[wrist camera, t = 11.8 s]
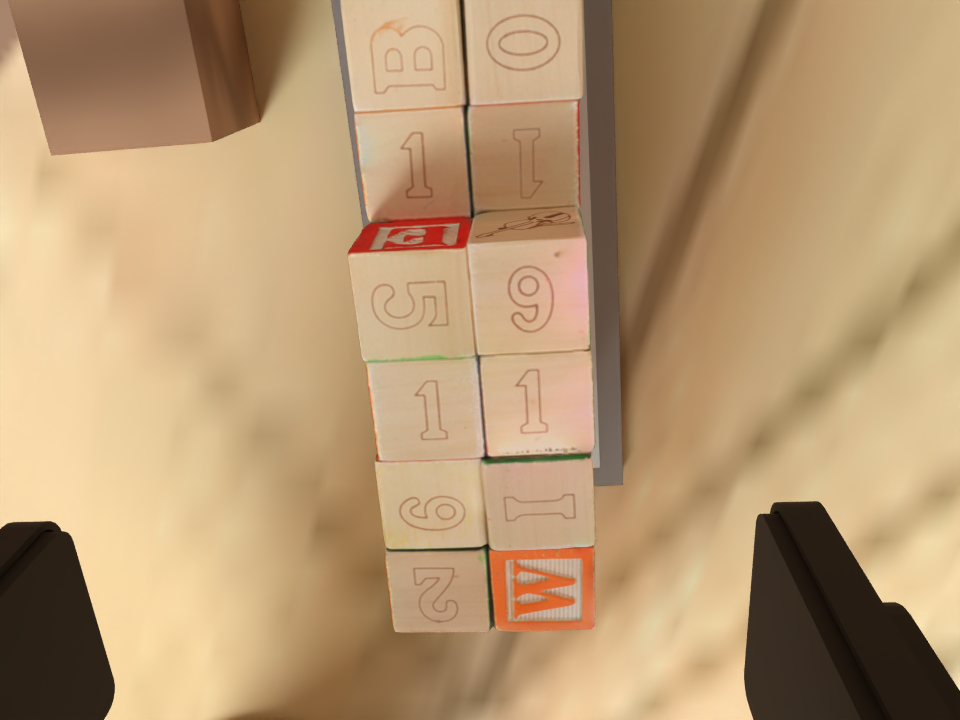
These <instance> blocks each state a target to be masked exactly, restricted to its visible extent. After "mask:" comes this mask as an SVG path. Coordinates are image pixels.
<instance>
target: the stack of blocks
mask: <svg viewBox="0 0 960 720" xmlns="http://www.w3.org/2000/svg"><path fill="white" fill-rule="evenodd" d="M340 4H341V14H342V21H343V30H344V38H345V46H346V54H347V62H348V70H349V78H350V86H351V94H352V102H353V108H354V122H355V132H356V141H357V150H358V157H359V164H360V171H361V178H362V185H363V193H364V201H365V207H366V212H367V217H368V219H369V221H370V224H368V225H366V226H365V227H364V229H363V230H362V232H361V234H360V235H359V237H358V238H357V239H356V241H355V242H354V244H353V245H352V247H351V248H350V250H349V252H348V262H349V269H350V276H351V283H352V290H353V297H354V304H355V311H356V319H357V326H358V333H359V341H360V348H361V355H362V358H363V360H364V361H365V363H366V368H367V379H368V388H369V396H370V403H371V411H372V417H373V425H374V433H375V441H376V448H377V456H376V459H375V471H376V479H377V488H378V495H379V502H380V510H381V518H382V527H383V535H384V543H385V546H386V553H385V563H386V571H387V580H388V589H389V598H390V607H391V616H392V624H393V628H394V631H396V632H398V633H412V632H477V633H485V632H489V630H490V629H491V628H492V627H493V626H494V627H495V629H496V630H500V631H510V632H514V631H550V630H581V629H592V628H595V627H596V605H595V552H594V544H595V542H596V530H595V506H594V482H593V462H592V453H591V451H592V450H593V449H594V448H595V444H596V440H595V418H594V382H593V361H592V354H591V346H590V341H591V329H590V303H589V272H588V241H587V237H586V233H585V228H584V224H583V220H582V215H581V212H580V205H581V200H580V116H579V102H580V99H581V98H582V96H583V8H582V0H340Z"/></svg>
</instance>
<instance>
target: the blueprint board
mask: <svg viewBox="0 0 960 720" xmlns="http://www.w3.org/2000/svg"><path fill="white" fill-rule="evenodd" d="M331 2H332V9H333V16H334V23H335V30H336V37H337V44H338V51H339V58H340V65H341V72H342V80H343V87H344V94H345V101H346V108H347V115H348V122H349V129H350V136H351V143H352V150H353V157H354V164H355V171H356V178H357V185H358V192H359V199H360V207H361V214H362V221H363V228H364V227H365V226H366V225H368V224H370V221H369V219H368V217H367V212H366V207H365V201H364V193H363V185H362V178H361V171H360V164H359V157H358V150H357V141H356V132H355V122H354V108H353V102H352V94H351V86H350V78H349V70H348V62H347V54H346V46H345V38H344V30H343V21H342V14H341V4H340V0H331ZM582 8H583V96H582V98H581V99H580V102H579V116H580V200H581V205H580V212H581V215H582V220H583V224H584V228H585V233H586V237H587V241H588V272H589V303H590V329H591V341H590V346H591V354H592V361H593V382H594V418H595V440H596V444H595V448H594V449H593V450H592V451H591V453H592V462H593V482H594V486H610V485H623V463H622V420H621V377H620V335H619V292H618V249H617V206H616V163H615V120H614V77H613V34H612V0H582Z"/></svg>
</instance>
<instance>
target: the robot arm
mask: <svg viewBox="0 0 960 720" xmlns="http://www.w3.org/2000/svg"><path fill="white" fill-rule="evenodd" d="M744 681H745V691H746V696H747V701H748V704H749V707H750V710H751V713H752V716H753V719H754V720H960V691H959V689H958V688H957V686H956V684H955V683H954V681H953V680H952V678H951V677H950V675H949V674H948V672H947V671H946V669H945V667H944V666H943V664H942V663H941V661H940V660H939V658H938V657H937V655H936V654H935V652H934V650H933V649H932V647H931V646H930V644H929V643H928V641H927V640H926V638H925V637H924V635H923V633H922V632H921V630H920V629H919V627H918V626H917V624H916V623H915V621H914V620H913V618H912V616H911V615H910V614H909V612H908V611H907V610H906V609H905V608H904V607H903V606H902V605H900V604H898V603H896V602H888V603H882V601H881V600H880V598H879V596H878V595H877V593H876V591H875V590H874V588H873V586H872V585H871V583H870V582H869V580H868V578H867V577H866V575H865V573H864V572H863V570H862V569H861V567H860V565H859V564H858V562H857V560H856V559H855V557H854V555H853V554H852V552H851V551H850V549H849V547H848V546H847V544H846V542H845V541H844V539H843V538H842V536H841V534H840V533H839V531H838V529H837V528H836V526H835V524H834V523H833V521H832V520H831V518H830V516H829V515H828V513H827V511H826V510H825V508H824V507H823V505H822V504H821V503H820V502H817V501H813V502H775V503H774V504H773V505H772V507H771V511H770V514H759V515H758V517H757V520H756V529H755V542H754V555H753V568H752V580H751V593H750V606H749V618H748V631H747V644H746V657H745V669H744ZM114 693H115V684H114V678H113V675H112V672H111V668H110V665H109V661H108V658H107V655H106V651H105V648H104V644H103V641H102V638H101V634H100V631H99V627H98V624H97V620H96V617H95V614H94V610H93V607H92V603H91V600H90V597H89V593H88V590H87V586H86V583H85V580H84V576H83V573H82V569H81V566H80V563H79V559H78V556H77V552H76V549H75V546H74V542H73V540H72V537H71V536H70V535H69V534H68V533H67V532H64V531H63V532H62V531H61V529H60V527H59V526H58V525H57V524H56V523H54V522H51V521H44V522H13V523H8V524H6V525H5V526H3V527H2V528H1V529H0V720H104V719H105V717H106V715H107V713H108V712H109V710H110V708H111V706H112V702H113V699H114Z"/></svg>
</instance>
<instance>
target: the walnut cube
mask: <svg viewBox="0 0 960 720" xmlns="http://www.w3.org/2000/svg"><path fill="white" fill-rule="evenodd" d="M8 2H9V5H10V9H11V12H12V16H13V20H14V23H15V27H16V30H17V34H18V38H19V41H20V45H21V48H22V52H23V56H24V59H25V63H26V66H27V70H28V73H29V77H30V81H31V84H32V88H33V91H34V95H35V99H36V102H37V106H38V109H39V113H40V117H41V120H42V124H43V127H44V131H45V135H46V138H47V142H48V145H49V149H50V153H51V155H63V154H75V153H87V152H99V151H111V150H123V149H135V148H147V147H159V146H171V145H183V144H195V143H206V142H214V141H216V140H218V139H221V138H223V137H225V136H228V135H230V134H233V133H235V132H237V131H240V130H242V129H245V128H247V127H249V126H252V125H254V124H256V123H259V122H260V117H259V111H258V105H257V100H256V94H255V89H254V83H253V78H252V72H251V67H250V61H249V56H248V50H247V45H246V39H245V34H244V28H243V23H242V17H241V11H240V6H239V0H8Z"/></svg>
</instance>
